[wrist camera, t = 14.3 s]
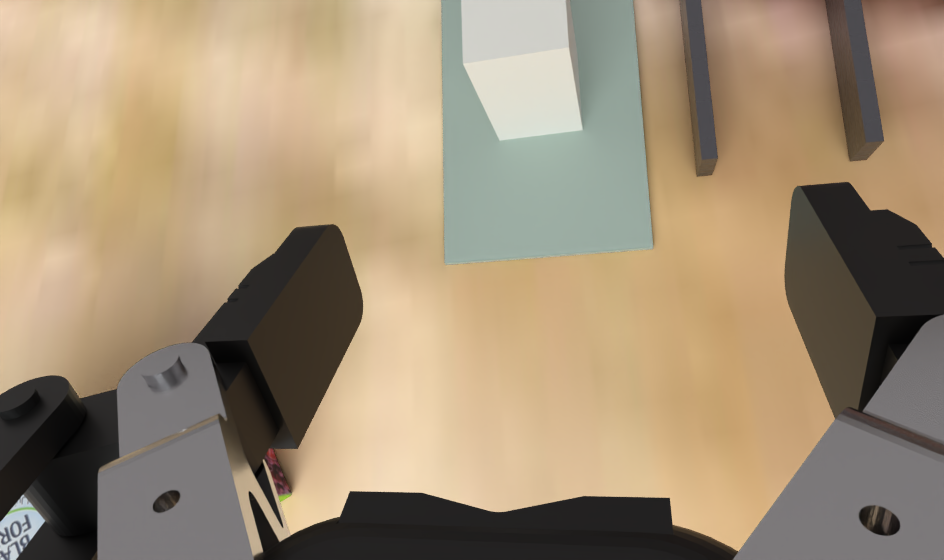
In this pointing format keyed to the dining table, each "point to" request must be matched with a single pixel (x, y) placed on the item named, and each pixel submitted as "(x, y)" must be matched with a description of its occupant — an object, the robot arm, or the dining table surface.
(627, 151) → the mat
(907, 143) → the dining table surface
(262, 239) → the dining table surface
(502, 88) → the block
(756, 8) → the dining table surface
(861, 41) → the brackets
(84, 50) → the dining table surface
